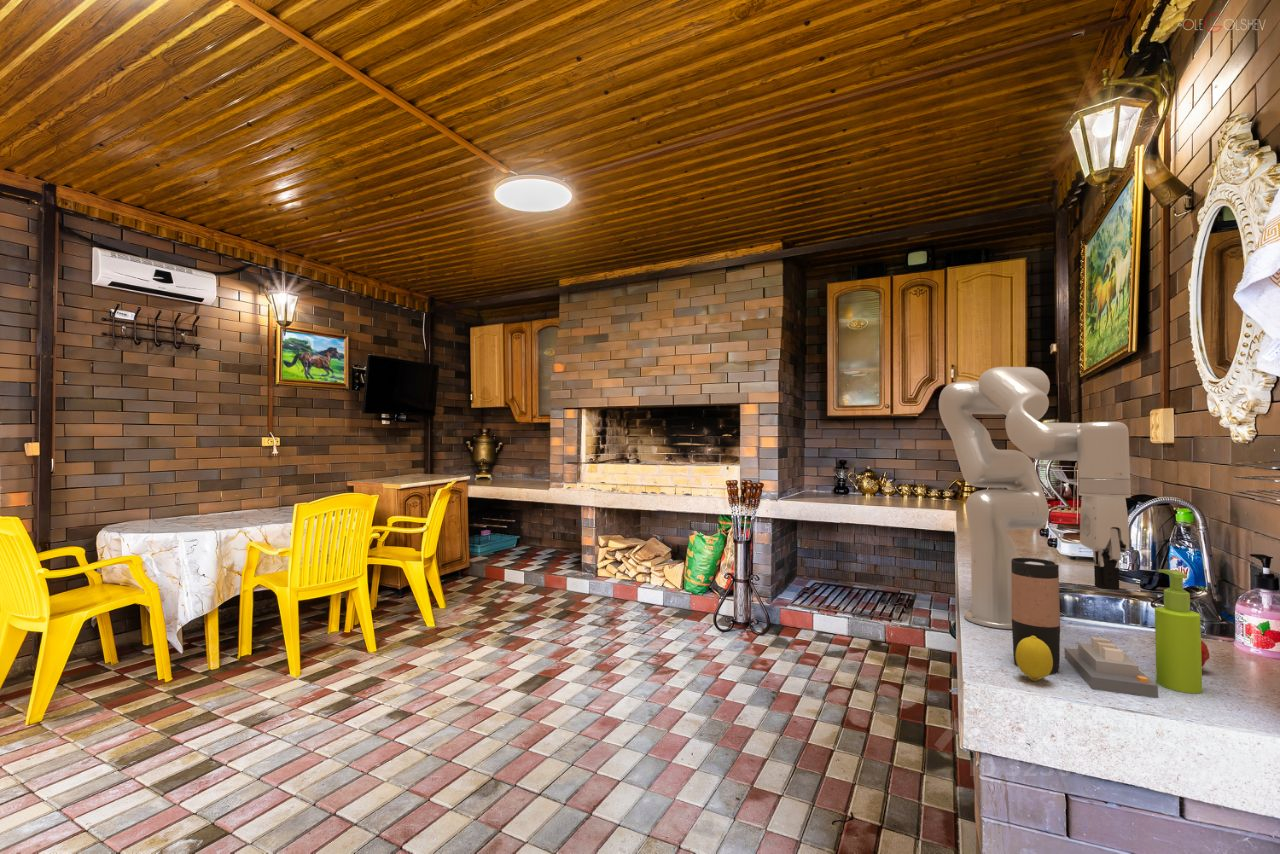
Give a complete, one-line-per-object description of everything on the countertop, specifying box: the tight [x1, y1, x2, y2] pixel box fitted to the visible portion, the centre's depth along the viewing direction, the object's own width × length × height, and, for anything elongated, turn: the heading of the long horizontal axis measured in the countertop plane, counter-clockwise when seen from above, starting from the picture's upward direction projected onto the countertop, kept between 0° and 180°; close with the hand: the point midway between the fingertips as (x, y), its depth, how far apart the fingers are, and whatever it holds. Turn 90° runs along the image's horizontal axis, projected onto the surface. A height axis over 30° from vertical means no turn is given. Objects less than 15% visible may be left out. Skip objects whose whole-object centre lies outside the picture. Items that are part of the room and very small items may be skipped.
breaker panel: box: [1063, 636, 1159, 699], centre depth 105 cm, size 16×9×6 cm, turn 157°
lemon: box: [1015, 636, 1053, 682], centre depth 103 cm, size 6×6×8 cm
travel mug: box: [1011, 557, 1061, 675], centre depth 110 cm, size 8×8×20 cm
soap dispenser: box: [1154, 568, 1203, 694], centre depth 102 cm, size 6×7×20 cm
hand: (1106, 588), depth 106 cm, fingers closed
